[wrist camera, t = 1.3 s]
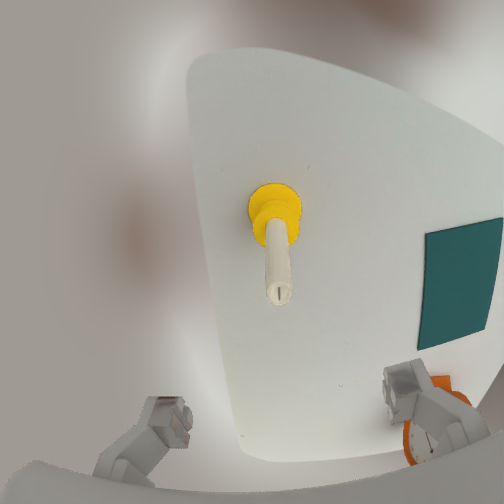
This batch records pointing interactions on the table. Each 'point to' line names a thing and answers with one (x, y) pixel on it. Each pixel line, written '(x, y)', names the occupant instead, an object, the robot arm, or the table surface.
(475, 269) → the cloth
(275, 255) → the candle
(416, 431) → the alarm clock
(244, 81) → the table surface
